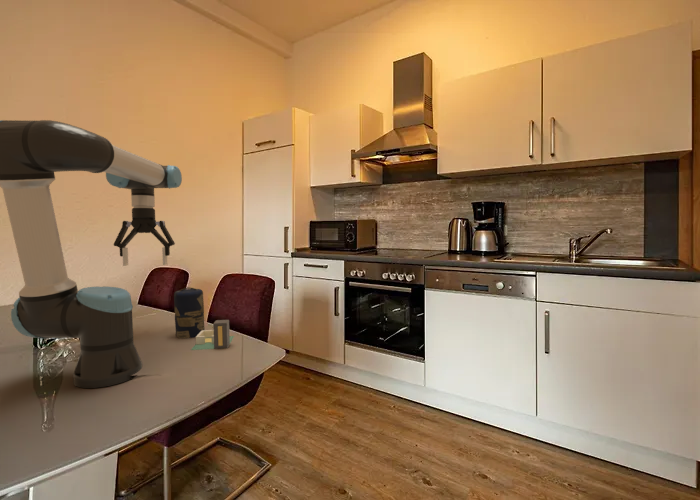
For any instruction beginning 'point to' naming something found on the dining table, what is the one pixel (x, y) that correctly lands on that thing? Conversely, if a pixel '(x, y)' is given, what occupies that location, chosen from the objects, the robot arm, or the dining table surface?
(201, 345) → the board
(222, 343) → the plug
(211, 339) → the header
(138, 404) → the dining table surface
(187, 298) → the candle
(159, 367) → the dining table surface
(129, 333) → the robot arm
